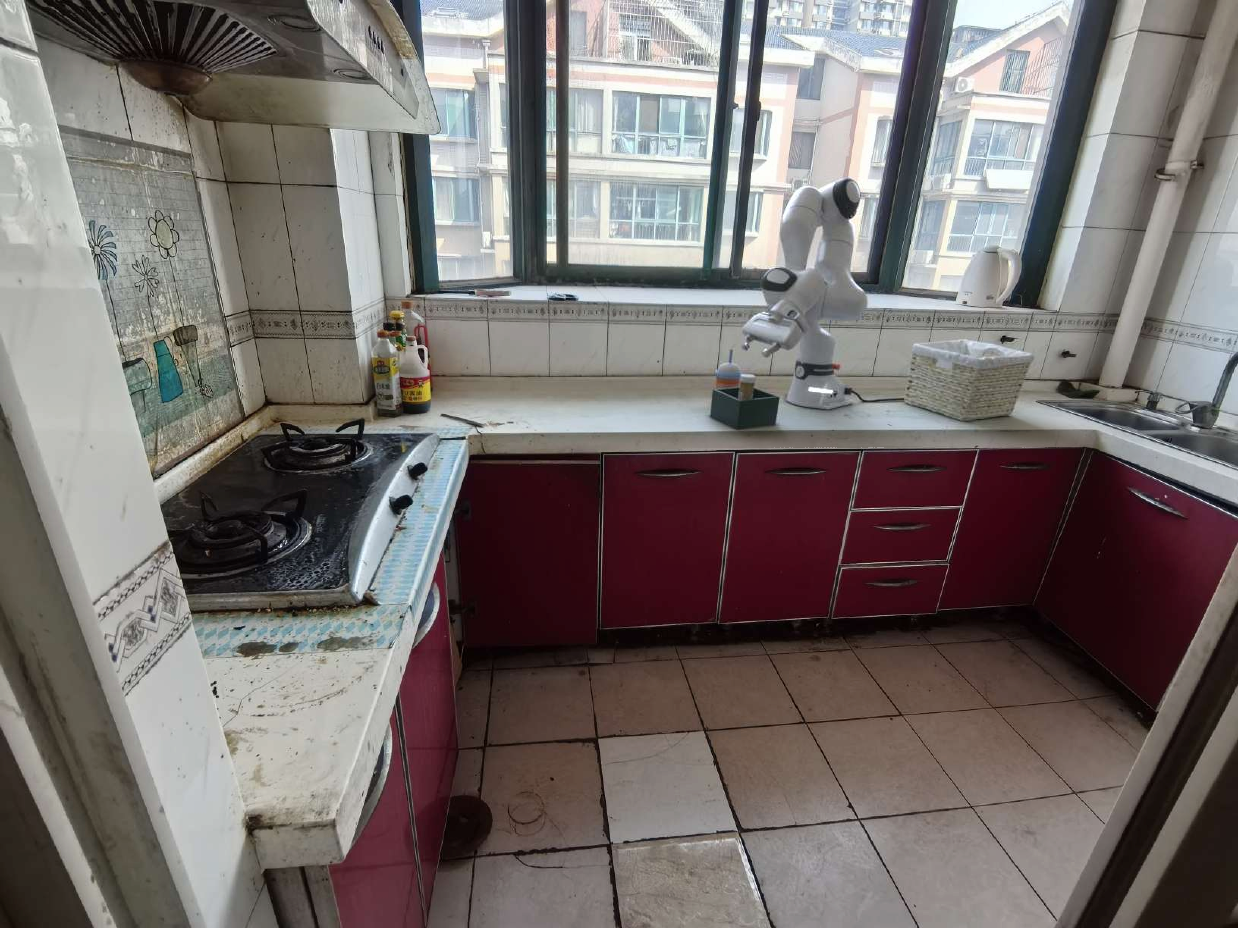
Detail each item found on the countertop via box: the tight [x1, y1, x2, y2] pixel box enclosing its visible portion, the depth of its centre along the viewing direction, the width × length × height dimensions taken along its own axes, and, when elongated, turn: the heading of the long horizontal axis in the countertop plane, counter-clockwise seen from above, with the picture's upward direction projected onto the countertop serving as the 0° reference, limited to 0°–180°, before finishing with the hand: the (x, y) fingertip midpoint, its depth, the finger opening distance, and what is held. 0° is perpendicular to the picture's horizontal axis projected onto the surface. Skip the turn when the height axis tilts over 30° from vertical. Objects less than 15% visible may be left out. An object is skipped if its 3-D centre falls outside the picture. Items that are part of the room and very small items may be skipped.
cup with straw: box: [714, 349, 743, 389], centre depth 194 cm, size 9×9×18 cm
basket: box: [903, 338, 1035, 422], centre depth 199 cm, size 27×27×22 cm
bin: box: [709, 386, 781, 430], centre depth 179 cm, size 15×14×9 cm
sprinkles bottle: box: [738, 373, 757, 400], centre depth 178 cm, size 5×5×13 cm
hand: (753, 352), depth 173 cm, fingers open, 8 cm apart
